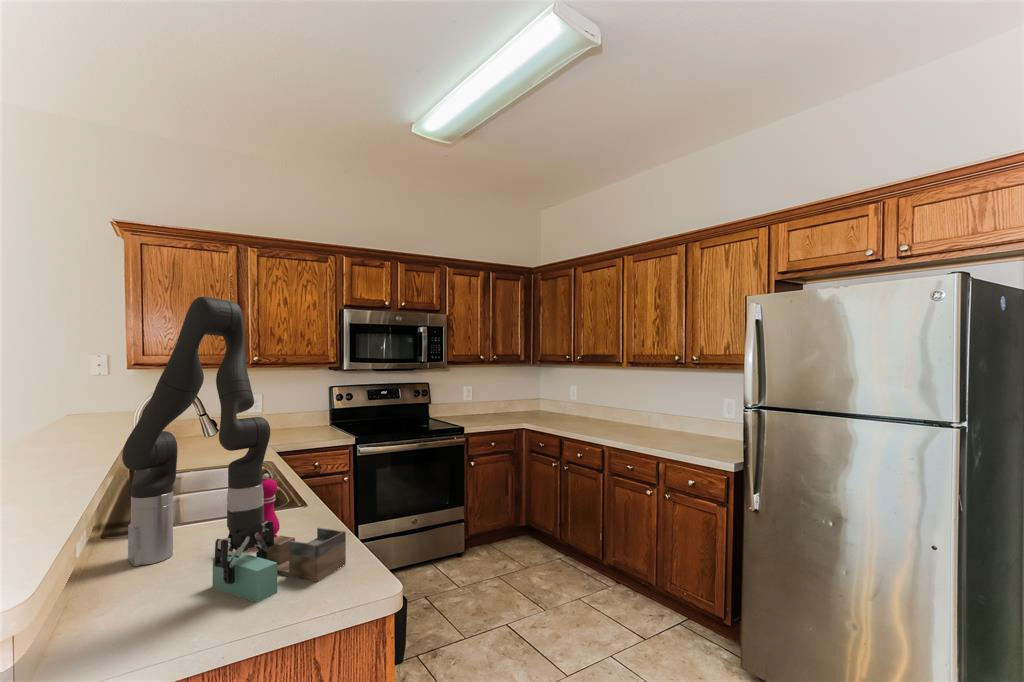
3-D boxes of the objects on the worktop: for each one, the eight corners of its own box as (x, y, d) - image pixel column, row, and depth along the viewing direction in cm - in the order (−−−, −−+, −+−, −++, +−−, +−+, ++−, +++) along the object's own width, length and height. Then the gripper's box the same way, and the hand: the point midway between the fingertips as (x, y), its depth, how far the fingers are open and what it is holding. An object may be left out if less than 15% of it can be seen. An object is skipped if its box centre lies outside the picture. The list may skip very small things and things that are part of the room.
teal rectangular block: (212, 587, 119) (212, 557, 119) (232, 579, 123) (232, 550, 123) (257, 603, 111) (257, 571, 111) (277, 593, 116) (277, 562, 116)
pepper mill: (284, 539, 148) (284, 470, 148) (270, 549, 141) (270, 476, 141) (261, 538, 149) (261, 470, 149) (245, 548, 141) (246, 476, 142)
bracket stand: (250, 568, 128) (250, 534, 128) (281, 553, 138) (281, 522, 138) (317, 582, 121) (317, 546, 121) (345, 564, 130) (345, 531, 130)
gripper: (258, 494, 126) (258, 561, 125) (205, 512, 112) (205, 586, 112) (282, 497, 123) (282, 565, 123) (230, 515, 110) (231, 591, 109)
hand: (245, 575), depth 117 cm, fingers open, 8 cm apart
